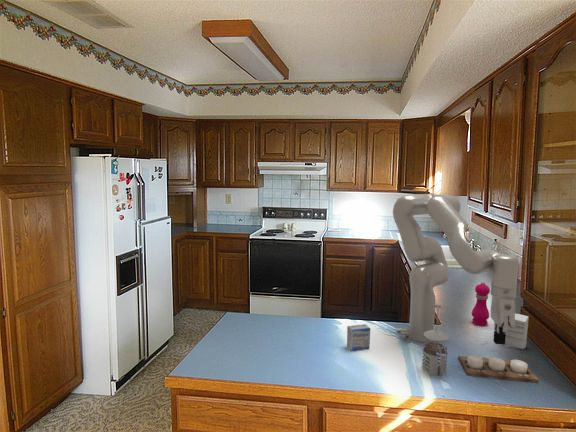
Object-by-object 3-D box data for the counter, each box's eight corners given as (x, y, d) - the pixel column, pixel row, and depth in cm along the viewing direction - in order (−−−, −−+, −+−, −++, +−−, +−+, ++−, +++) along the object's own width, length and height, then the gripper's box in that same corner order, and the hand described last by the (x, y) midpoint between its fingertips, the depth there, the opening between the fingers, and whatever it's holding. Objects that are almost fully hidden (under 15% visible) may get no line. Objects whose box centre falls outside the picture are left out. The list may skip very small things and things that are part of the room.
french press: (441, 366, 144) (446, 298, 141) (456, 384, 132) (461, 311, 129) (414, 366, 144) (418, 298, 140) (426, 384, 132) (431, 311, 129)
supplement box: (505, 341, 165) (508, 311, 164) (526, 346, 161) (529, 316, 159) (501, 347, 160) (504, 316, 158) (523, 353, 155) (526, 321, 153)
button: (490, 372, 137) (491, 363, 137) (486, 365, 142) (486, 356, 141) (506, 374, 136) (507, 365, 136) (501, 366, 141) (502, 358, 141)
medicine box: (351, 351, 154) (351, 330, 153) (346, 346, 158) (347, 325, 157) (369, 349, 156) (370, 328, 155) (364, 344, 160) (365, 323, 159)
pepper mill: (490, 327, 179) (494, 283, 176) (473, 326, 180) (476, 282, 177) (486, 321, 186) (489, 279, 183) (469, 319, 187) (472, 278, 184)
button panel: (466, 379, 135) (466, 371, 135) (458, 362, 147) (458, 355, 147) (538, 386, 131) (538, 379, 131) (523, 368, 143) (524, 361, 143)
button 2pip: (512, 374, 136) (513, 366, 135) (507, 367, 141) (508, 358, 140) (529, 376, 135) (530, 367, 134) (523, 369, 140) (524, 360, 139)
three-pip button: (468, 370, 138) (469, 361, 138) (465, 363, 143) (465, 354, 143) (484, 372, 137) (485, 363, 137) (480, 364, 142) (480, 356, 142)
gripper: (524, 299, 127) (519, 354, 130) (507, 285, 142) (503, 335, 144) (498, 297, 129) (494, 352, 131) (484, 284, 143) (481, 333, 146)
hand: (499, 343), depth 138 cm, fingers closed
